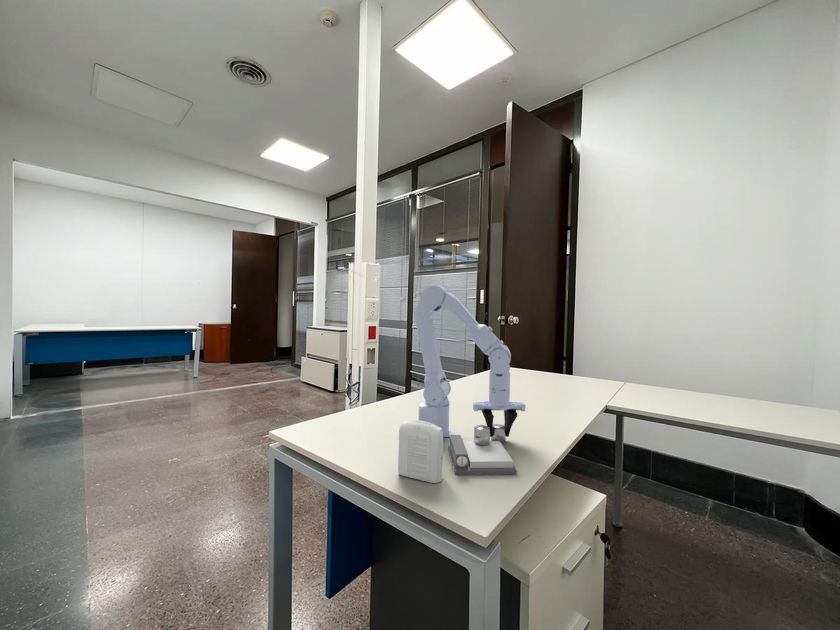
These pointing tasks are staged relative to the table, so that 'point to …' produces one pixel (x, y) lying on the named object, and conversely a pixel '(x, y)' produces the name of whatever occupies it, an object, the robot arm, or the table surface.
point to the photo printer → (420, 451)
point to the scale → (479, 458)
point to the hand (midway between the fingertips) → (498, 435)
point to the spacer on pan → (482, 435)
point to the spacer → (499, 433)
